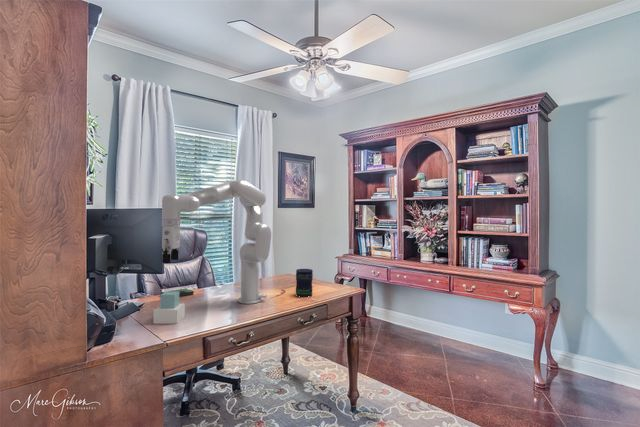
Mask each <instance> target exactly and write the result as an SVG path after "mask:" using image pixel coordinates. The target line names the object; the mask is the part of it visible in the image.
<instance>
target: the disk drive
mask: <svg viewBox="0 0 640 427" xmlns="http://www.w3.org/2000/svg"><path fill="white" fill-rule="evenodd" d="M171 291H179V298H182V297H188V296H189V297H190V296H194V290H191V289H188V288H179V289H174V290H173V289H172V290H171ZM164 292H165V291H161V292H160V295H161V294H163V293H164Z"/></svg>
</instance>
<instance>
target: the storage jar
mask: <svg viewBox="0 0 640 427" xmlns="http://www.w3.org/2000/svg"><path fill="white" fill-rule="evenodd" d="M295 272H296V274H295V279H296V286H295V296H296V295H297V296H300V297H299V298H301V297H308V296H311V297H313V278H314V277H313V276H314V275H313V269H311V268H297V269H296V270H295ZM297 296H296V297H297ZM308 298H309V297H308Z"/></svg>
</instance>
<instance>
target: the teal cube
mask: <svg viewBox="0 0 640 427" xmlns="http://www.w3.org/2000/svg"><path fill="white" fill-rule="evenodd" d="M163 292H164V293H163V294H161V293H160V298H159V300H160V305H159V306H160V308H176V307H177V306H178V305H179V303H180V297H179V291H172V290H167V291H163Z"/></svg>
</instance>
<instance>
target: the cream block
mask: <svg viewBox="0 0 640 427" xmlns="http://www.w3.org/2000/svg"><path fill="white" fill-rule="evenodd" d="M185 316H186V303H184V302H183V303H182V302H179V305H178V306H177V307H176V308H160V305H158V306H157V307H156V308H154V309H153V316H152V317H153V320H152V321H153V324H155V325H159V324H161V325H162V324H163V325H164V324H167V325H168V324H172V325H173V324H174V325H175V324H179V322H181V321H182V320H183V319H184V318H185Z"/></svg>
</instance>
